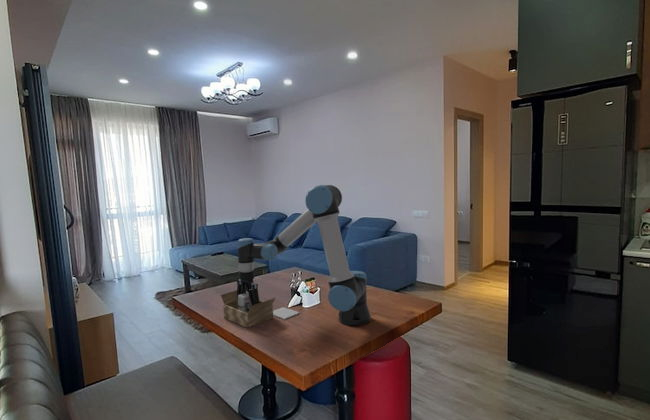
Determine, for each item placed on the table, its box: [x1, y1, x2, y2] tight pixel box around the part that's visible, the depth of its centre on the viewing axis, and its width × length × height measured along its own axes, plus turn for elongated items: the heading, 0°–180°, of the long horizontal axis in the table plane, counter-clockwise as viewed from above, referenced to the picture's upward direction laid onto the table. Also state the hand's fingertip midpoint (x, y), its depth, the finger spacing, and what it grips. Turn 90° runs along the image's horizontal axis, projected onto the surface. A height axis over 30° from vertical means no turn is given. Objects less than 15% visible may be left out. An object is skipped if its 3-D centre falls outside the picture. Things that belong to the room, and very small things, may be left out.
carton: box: [220, 289, 276, 329], centre depth 166 cm, size 25×15×11 cm, turn 49°
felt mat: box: [273, 306, 300, 321], centre depth 170 cm, size 12×10×1 cm
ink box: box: [238, 291, 252, 313], centre depth 166 cm, size 9×5×12 cm, turn 137°
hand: (248, 316), depth 166 cm, fingers open, 8 cm apart
